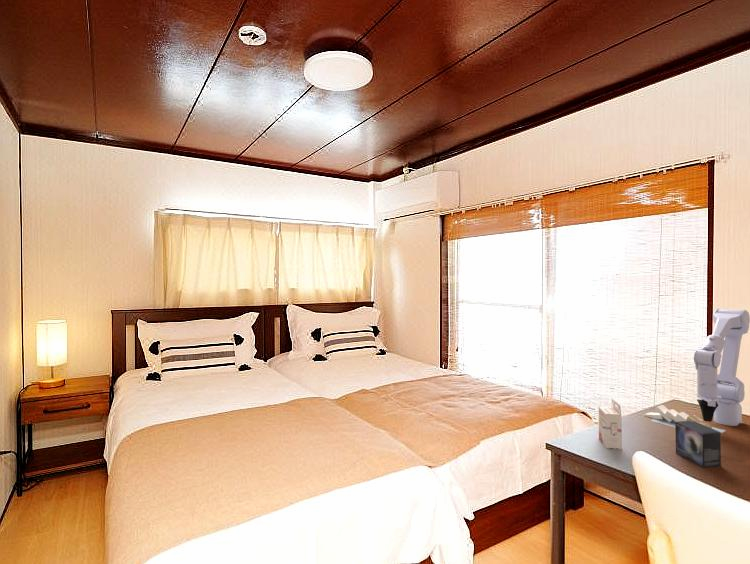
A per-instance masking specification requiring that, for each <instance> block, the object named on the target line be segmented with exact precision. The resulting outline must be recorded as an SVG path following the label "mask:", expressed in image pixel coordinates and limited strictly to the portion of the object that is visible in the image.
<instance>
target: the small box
mask: <svg viewBox="0 0 750 564" xmlns="http://www.w3.org/2000/svg"><path fill="white" fill-rule="evenodd" d="M674 428H675V432H674V433H675V454H677V455H679V456H680V457H682V458H685V459H686V460H688V461H690V462H691V463H693V464H696V465H698V466H700V467H701V468H717V467H718V468H719V467H722V454H721V452H722V450H721V447H722V445H721V444H722V441H721V439H722V438H721V436H722V433H721V432H719V431H717V430H714V429H712V428H709V427H707V426H704V425H702V424H700V423H697V422H695V421H678V422H675V427H674Z"/></svg>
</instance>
